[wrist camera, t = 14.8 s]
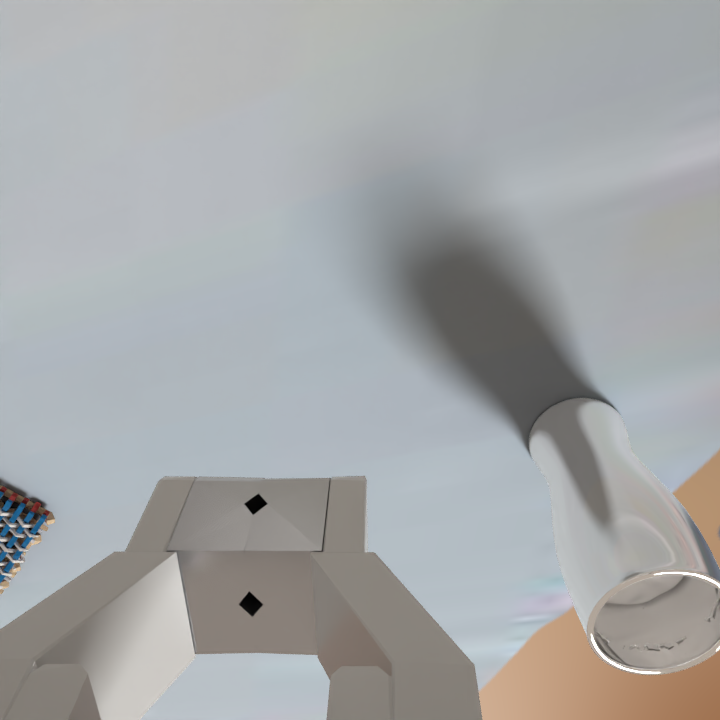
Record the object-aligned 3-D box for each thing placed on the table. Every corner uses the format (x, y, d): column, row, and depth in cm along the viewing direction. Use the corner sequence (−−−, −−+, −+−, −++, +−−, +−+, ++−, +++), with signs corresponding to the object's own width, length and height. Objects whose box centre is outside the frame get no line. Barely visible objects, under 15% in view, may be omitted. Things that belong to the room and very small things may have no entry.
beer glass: (505, 467, 45) (557, 661, 32) (546, 378, 42) (623, 550, 29) (603, 492, 46) (695, 691, 32) (651, 406, 43) (774, 587, 29)
